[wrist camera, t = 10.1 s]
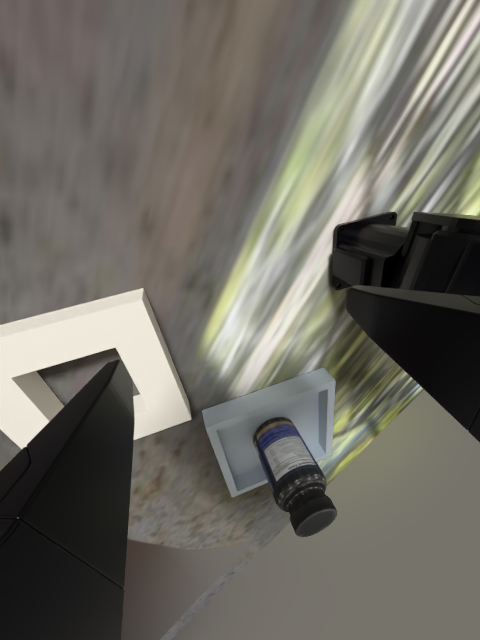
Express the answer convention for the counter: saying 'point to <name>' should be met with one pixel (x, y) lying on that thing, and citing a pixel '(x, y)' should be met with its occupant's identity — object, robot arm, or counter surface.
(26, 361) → the white square frame
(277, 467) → the pill bottle
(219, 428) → the tray
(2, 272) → the counter surface
